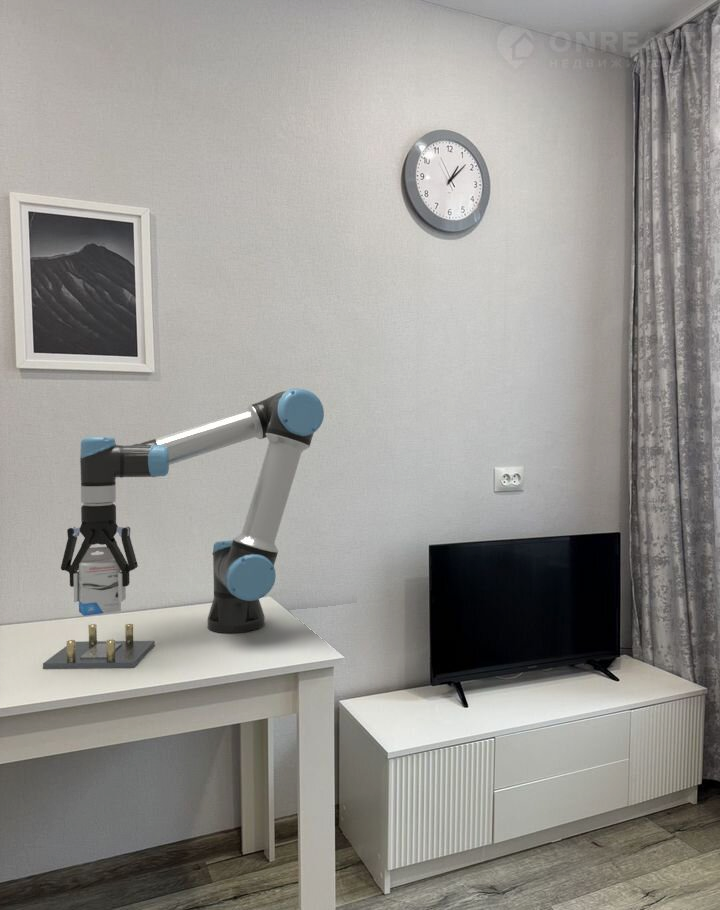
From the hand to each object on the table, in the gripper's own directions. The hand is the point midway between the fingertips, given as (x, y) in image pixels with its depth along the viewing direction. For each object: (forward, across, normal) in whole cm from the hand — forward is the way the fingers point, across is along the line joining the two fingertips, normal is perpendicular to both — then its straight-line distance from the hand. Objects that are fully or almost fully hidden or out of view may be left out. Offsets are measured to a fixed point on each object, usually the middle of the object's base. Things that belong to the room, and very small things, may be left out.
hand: (100, 600), depth 160 cm
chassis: (+13, 0, 0) cm, 13 cm away
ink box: (+3, 0, 0) cm, 3 cm away
